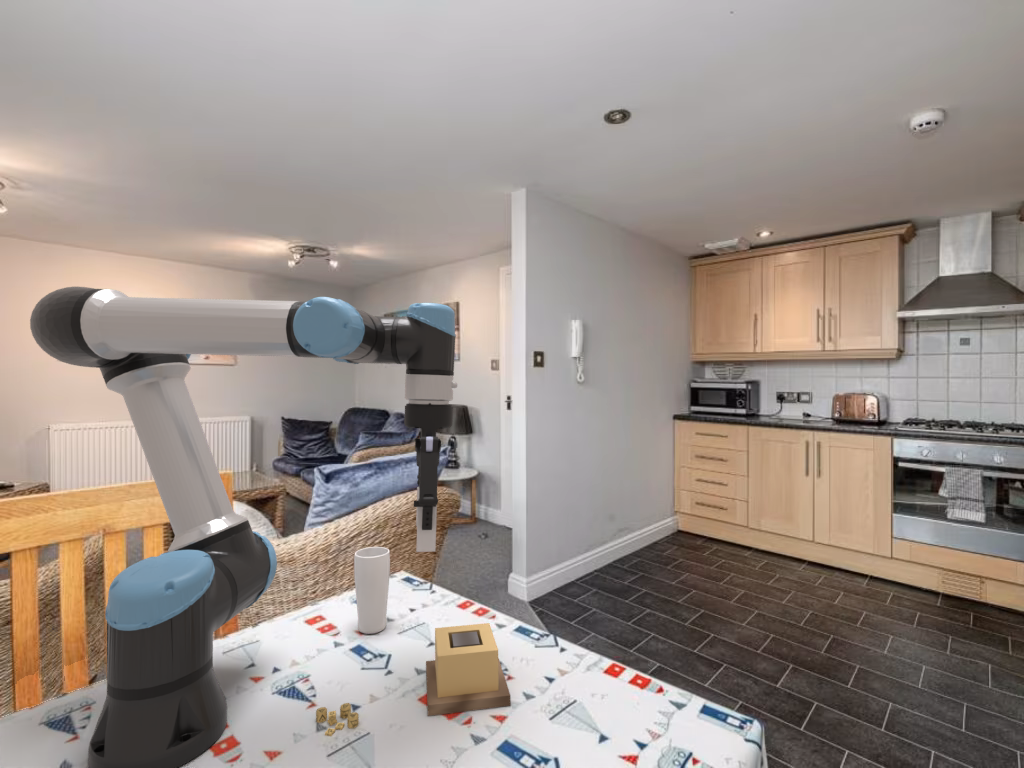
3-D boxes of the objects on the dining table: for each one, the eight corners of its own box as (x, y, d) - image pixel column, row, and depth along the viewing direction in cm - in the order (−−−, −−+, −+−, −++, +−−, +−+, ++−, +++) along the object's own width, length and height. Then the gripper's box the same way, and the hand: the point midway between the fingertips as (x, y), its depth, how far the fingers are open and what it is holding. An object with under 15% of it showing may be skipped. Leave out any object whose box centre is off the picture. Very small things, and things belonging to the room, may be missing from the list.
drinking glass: (351, 625, 100) (351, 549, 100) (385, 618, 103) (385, 544, 103) (357, 640, 94) (357, 559, 94) (393, 632, 97) (393, 554, 97)
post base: (427, 715, 72) (427, 663, 72) (426, 670, 84) (425, 624, 84) (510, 705, 74) (510, 654, 74) (497, 662, 86) (497, 618, 86)
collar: (437, 697, 74) (437, 656, 74) (435, 664, 83) (435, 628, 83) (498, 690, 76) (498, 650, 76) (489, 659, 84) (489, 622, 84)
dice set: (315, 722, 72) (315, 709, 72) (352, 711, 74) (352, 697, 74) (320, 744, 67) (320, 729, 67) (359, 731, 70) (359, 717, 70)
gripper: (459, 406, 68) (455, 563, 68) (447, 401, 93) (444, 516, 92) (403, 404, 67) (398, 565, 67) (406, 399, 91) (402, 517, 91)
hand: (424, 537), depth 80 cm, fingers open, 13 cm apart
